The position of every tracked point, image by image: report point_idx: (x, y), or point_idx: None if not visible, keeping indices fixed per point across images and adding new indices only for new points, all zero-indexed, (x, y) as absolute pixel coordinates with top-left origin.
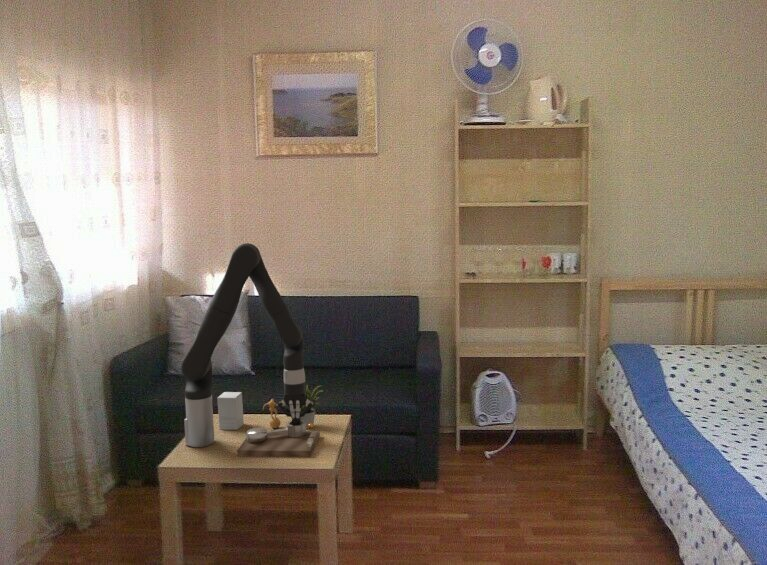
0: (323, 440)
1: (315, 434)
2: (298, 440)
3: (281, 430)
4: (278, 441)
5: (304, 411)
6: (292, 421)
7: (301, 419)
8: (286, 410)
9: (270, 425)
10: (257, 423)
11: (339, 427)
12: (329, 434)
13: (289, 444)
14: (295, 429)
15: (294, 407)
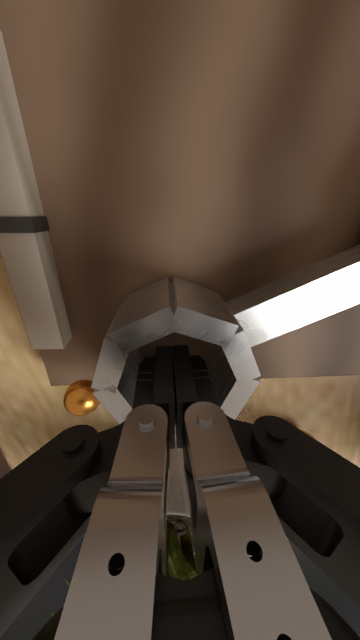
0: (20, 319)
1: (18, 301)
2: (132, 228)
3: (281, 300)
4: (278, 201)
5: (11, 512)
6: (207, 384)
7: (178, 476)
8: (337, 509)
9: (314, 438)
10: (352, 461)
11: (21, 456)
12: (28, 392)
13: (183, 125)
14: (163, 298)
15: (203, 612)
